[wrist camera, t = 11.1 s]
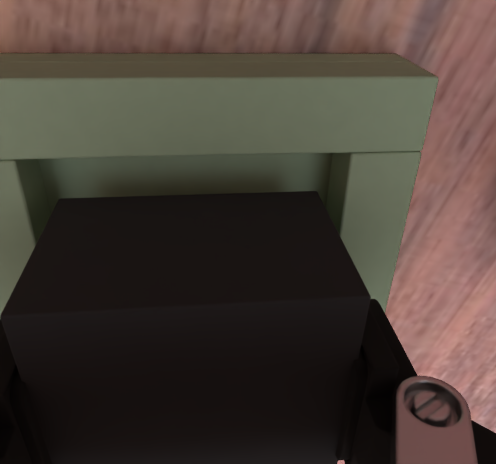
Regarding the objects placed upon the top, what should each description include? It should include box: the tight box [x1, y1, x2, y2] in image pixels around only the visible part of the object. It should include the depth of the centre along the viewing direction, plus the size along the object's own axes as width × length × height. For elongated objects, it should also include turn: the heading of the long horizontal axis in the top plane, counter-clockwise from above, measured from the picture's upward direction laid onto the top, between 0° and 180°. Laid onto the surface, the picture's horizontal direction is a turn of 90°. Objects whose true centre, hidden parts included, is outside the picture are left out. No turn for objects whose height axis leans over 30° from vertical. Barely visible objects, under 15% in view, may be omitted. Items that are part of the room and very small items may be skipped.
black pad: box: [0, 191, 371, 464], centre depth 11 cm, size 6×6×4 cm
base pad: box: [0, 53, 438, 316], centre depth 14 cm, size 11×11×2 cm
